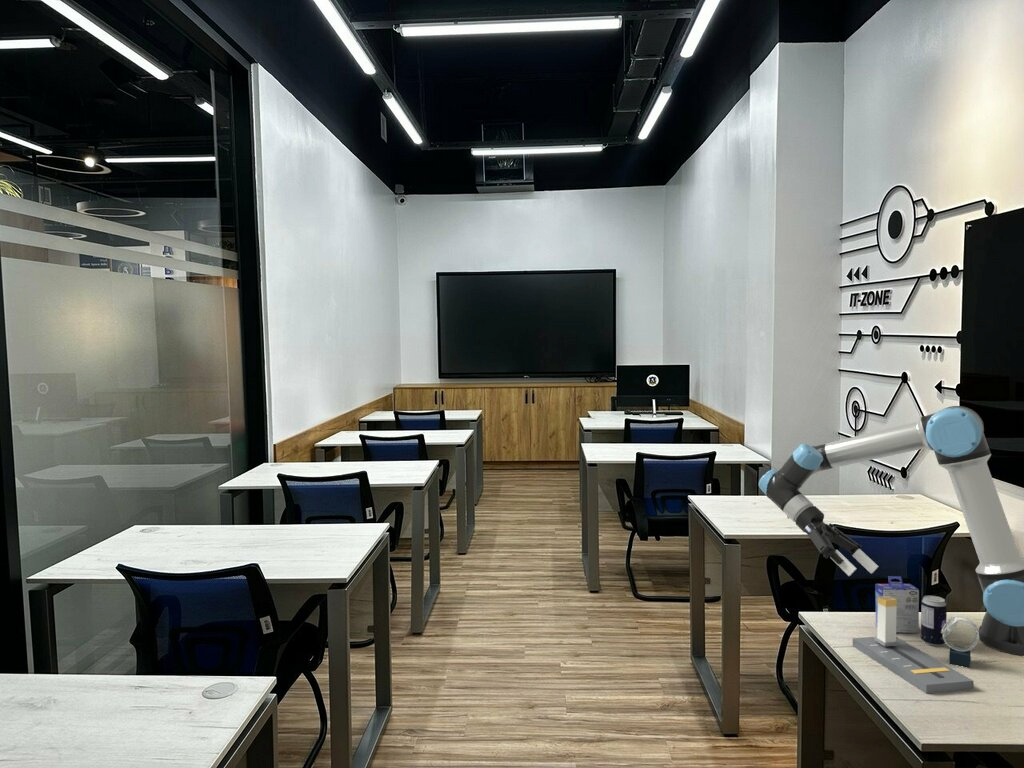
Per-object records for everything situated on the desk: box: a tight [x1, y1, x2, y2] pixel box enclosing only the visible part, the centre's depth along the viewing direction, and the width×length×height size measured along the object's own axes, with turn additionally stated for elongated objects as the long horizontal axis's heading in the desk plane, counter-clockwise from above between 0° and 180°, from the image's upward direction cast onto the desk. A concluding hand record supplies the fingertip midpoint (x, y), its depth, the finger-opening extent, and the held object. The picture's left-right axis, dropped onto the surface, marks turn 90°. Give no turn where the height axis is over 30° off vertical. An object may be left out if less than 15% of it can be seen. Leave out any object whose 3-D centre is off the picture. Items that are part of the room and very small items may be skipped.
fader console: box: [852, 636, 975, 694], centre depth 169 cm, size 12×26×2 cm, turn 9°
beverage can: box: [920, 594, 948, 648], centre depth 182 cm, size 6×6×12 cm
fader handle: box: [873, 596, 899, 646], centre depth 177 cm, size 4×4×12 cm
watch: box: [941, 616, 980, 669], centre depth 171 cm, size 6×8×11 cm
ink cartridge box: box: [874, 575, 920, 634], centre depth 192 cm, size 10×6×14 cm, turn 87°
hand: (864, 571), depth 182 cm, fingers open, 13 cm apart
